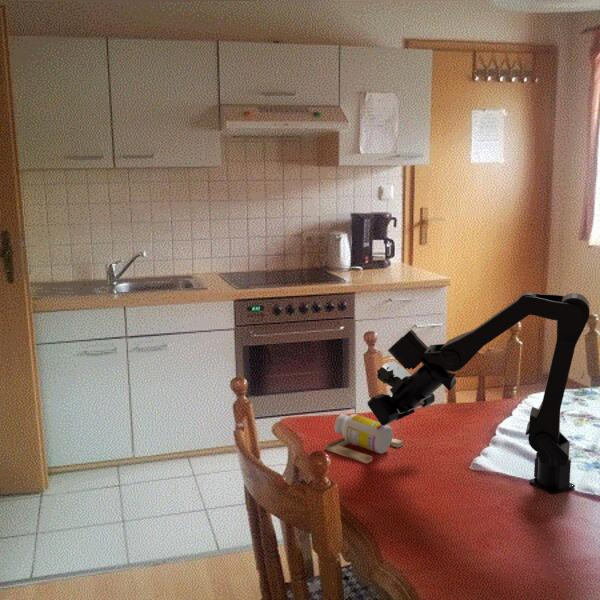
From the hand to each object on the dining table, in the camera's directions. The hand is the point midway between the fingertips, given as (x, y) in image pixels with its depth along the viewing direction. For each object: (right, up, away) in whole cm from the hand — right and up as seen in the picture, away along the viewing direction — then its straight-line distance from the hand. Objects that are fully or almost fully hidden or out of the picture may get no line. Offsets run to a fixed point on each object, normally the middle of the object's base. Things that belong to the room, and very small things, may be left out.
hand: (380, 420), depth 162 cm
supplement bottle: (+1, -4, 0) cm, 5 cm away
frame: (-2, -7, +4) cm, 8 cm away
